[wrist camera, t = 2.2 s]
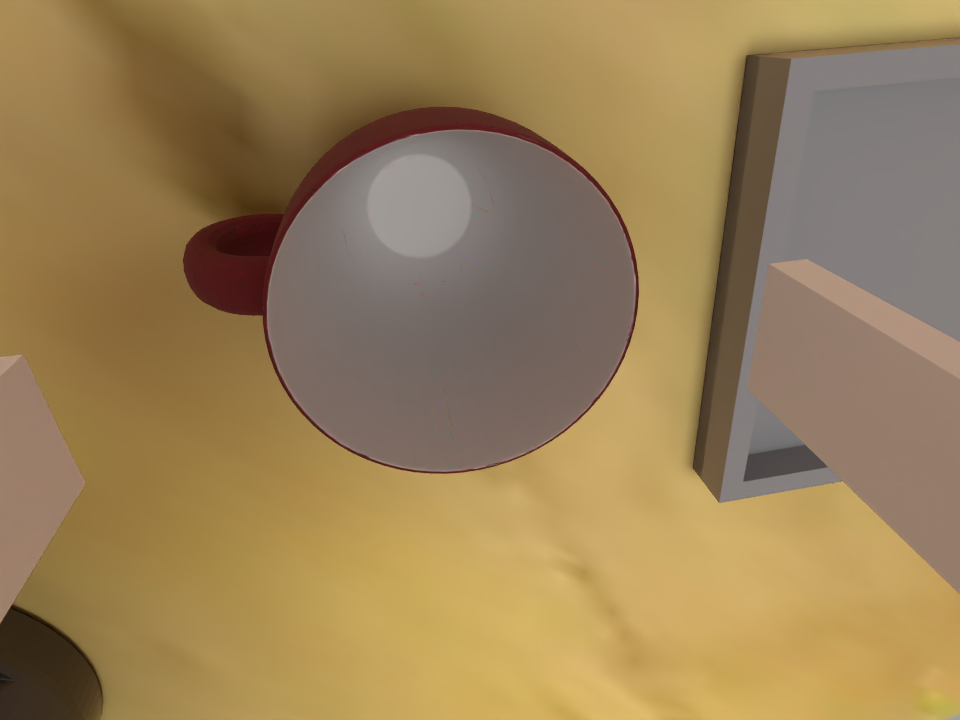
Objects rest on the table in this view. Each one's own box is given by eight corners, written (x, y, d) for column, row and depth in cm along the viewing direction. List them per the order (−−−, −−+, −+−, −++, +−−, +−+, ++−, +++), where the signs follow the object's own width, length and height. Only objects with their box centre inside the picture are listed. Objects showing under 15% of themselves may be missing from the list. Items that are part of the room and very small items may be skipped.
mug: (265, 341, 23) (210, 529, 14) (189, 112, 19) (52, 183, 11) (539, 290, 24) (640, 438, 15) (520, 62, 20) (643, 90, 12)
